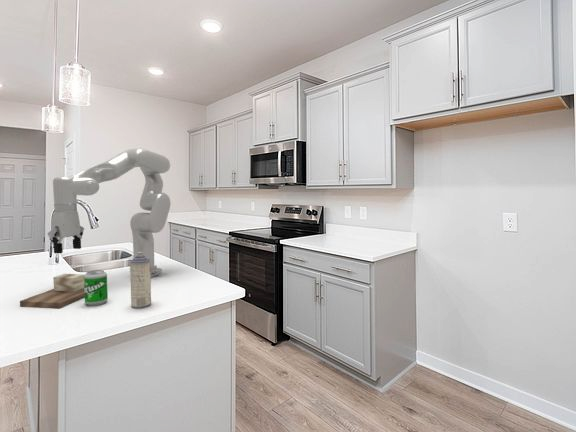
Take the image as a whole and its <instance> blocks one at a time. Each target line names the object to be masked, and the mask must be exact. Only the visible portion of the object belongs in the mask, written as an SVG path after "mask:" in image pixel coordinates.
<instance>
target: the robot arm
mask: <svg viewBox="0 0 576 432" xmlns="http://www.w3.org/2000/svg"><path fill="white" fill-rule="evenodd" d="M135 168H139V169H140V171H141V173H142V174H143V175H144V179H145V180H144V181H145V183H144V187H143V189H142V194H141V196H140V199H139V206H140V208H141V209H142V210H144V211H147V212H143V211H141V212H137V213H135V214H133V215H132V216H131V217H130V224H129V225H130V230H131V234H132V248H133V250H132V253H133V258H134V257H135V256H136V255H137V252H142V254H143V255H144V256H145V257H147V259H149V260H150V276H151V278H153V277H157V276H158V275H159V274H161V273H162V268H157V267H158V266H157V265H155V239H154V235H153V234H157V233H160V232H162V230H163V229H164V228H165V226H166V222H167V219H168V215H169V212H170V209H171V198H170V196H169V195H168V194H167V193H165V192H163V187H164V180H163V178H162V176H161V174H165V173H167V172H168V171H169V170H170V168H171V163H170V160H169V159H168V158H167V157H166V156H165V155H163V154H159V153H157V152H154V151H150V150H148V149H144V148H131V149H127V150H124V151H122V152H121V153H119V154H117V155H115V156H113V157H111V158H110V159H107V160H106V161H104V162H102V163H99V164H97V165H94V166H91V167H89V168H87V169H85V170H82V171H81V172H79V173H78V174H76V175H74V176H72V177H70V176H69V177H66V176H65V177H64V176H63V177H62V176H57V177H54V178H53V179H52V186H53V187H52V188H53V207H54V208H53V209H54V212H52V214H51V215H52V216H51V224H50V226H51V229H50V231H49V232H47V236H48V237H49V240H50V241H51V244H53V253H54V254H63V243H62V241H63V239H64V238H65V239H66V238H70V237H72V238H73V239H72V249H74V250H80V249H82V238H83V237H82V236H83V235H84V231H85V227H83V226H82V225H81V222H80V216H79V211H78V203H77V201H78V199H77V196H93V195H95V194H97V193H98V192H99V190H100V184H101V183H104V182H110V181H113V180H117V179H118V178H120V177H121V176H124V175H125V174H126V173H128V172H130V171H131V170H133V169H135Z"/></svg>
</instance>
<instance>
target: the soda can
mask: <svg viewBox="0 0 576 432" xmlns="http://www.w3.org/2000/svg"><path fill="white" fill-rule="evenodd" d="M84 292H85V298H84V303H85V304H87V306H90V307H94V306H95V307H96V306H100V305H103V304H105V303H106V302H107V301H108V299H109V297H108V295H109V294H108V292H109V291H108V274H107V271H106V272H105V270H103V269H102V270H101V269H97V270H90V271H87V272H86V273H85V274H84Z"/></svg>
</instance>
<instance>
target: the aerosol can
mask: <svg viewBox="0 0 576 432" xmlns="http://www.w3.org/2000/svg"><path fill="white" fill-rule="evenodd" d="M129 270H130V271H129V273H130V274H129V275H130V277H129V278H130V301H131V302H130V307H131V309H136V310H137V309H145V308H149V307H150V306H151V305H152V283H151V282H152V279H151V278H152V277H151V276H150V260H149V259H147V257H145V256H144V255H143V254H142V252H137V255H136V256H135V257H134V256H133V258H132V259H131V260H130V262H129Z"/></svg>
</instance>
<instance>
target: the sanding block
mask: <svg viewBox="0 0 576 432" xmlns="http://www.w3.org/2000/svg"><path fill="white" fill-rule="evenodd" d="M84 275H85V274H81V273H80V274H78V273H63V274H60V275H59V274H58V275H56V276H53V277H52V278H53V279H52V281H53V289H54V292H65V293H76V292H78V291H81V290H83V289H84Z"/></svg>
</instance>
